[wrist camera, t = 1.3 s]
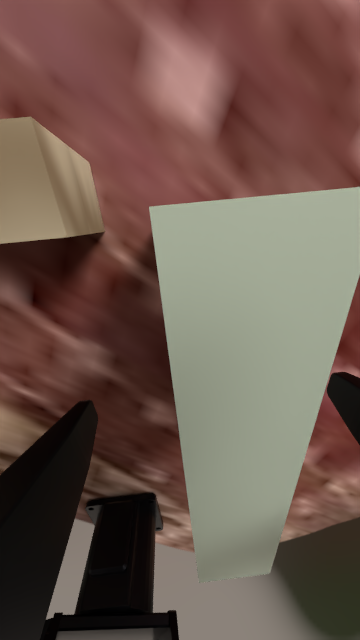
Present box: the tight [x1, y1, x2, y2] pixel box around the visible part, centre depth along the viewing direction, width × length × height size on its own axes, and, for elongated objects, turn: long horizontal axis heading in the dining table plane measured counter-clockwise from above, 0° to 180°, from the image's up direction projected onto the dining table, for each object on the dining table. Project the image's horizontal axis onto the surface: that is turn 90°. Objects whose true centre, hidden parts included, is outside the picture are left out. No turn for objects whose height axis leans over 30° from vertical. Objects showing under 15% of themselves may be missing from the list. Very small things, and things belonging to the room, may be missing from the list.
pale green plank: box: [149, 187, 360, 583], centre depth 8 cm, size 12×3×8 cm, turn 5°
